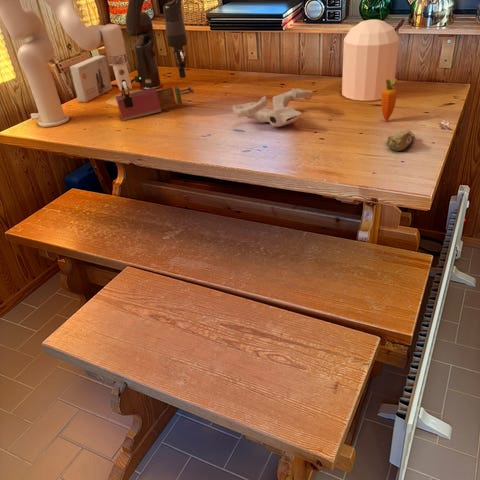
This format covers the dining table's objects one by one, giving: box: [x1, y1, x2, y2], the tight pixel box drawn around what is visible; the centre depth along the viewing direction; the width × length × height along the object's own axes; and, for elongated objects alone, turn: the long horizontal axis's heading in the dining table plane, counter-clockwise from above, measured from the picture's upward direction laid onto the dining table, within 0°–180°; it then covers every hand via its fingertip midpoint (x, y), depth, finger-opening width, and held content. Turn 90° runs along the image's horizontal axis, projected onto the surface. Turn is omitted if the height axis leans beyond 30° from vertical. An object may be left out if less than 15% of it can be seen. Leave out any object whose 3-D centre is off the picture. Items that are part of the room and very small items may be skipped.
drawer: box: [156, 84, 195, 108], centre depth 194 cm, size 21×5×7 cm, turn 109°
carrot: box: [380, 78, 398, 122], centre depth 161 cm, size 5×5×15 cm
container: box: [341, 18, 400, 102], centre depth 185 cm, size 21×21×28 cm
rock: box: [387, 129, 416, 152], centre depth 146 cm, size 11×6×10 cm
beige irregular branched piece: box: [231, 88, 314, 128], centre depth 171 cm, size 28×26×12 cm
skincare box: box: [69, 54, 113, 103], centre depth 218 cm, size 21×6×16 cm, turn 158°
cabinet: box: [115, 88, 162, 121], centre depth 191 cm, size 16×6×8 cm, turn 109°
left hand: (128, 104), depth 190 cm, fingers closed on cabinet, 6 cm apart
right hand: (182, 77), depth 192 cm, fingers closed
